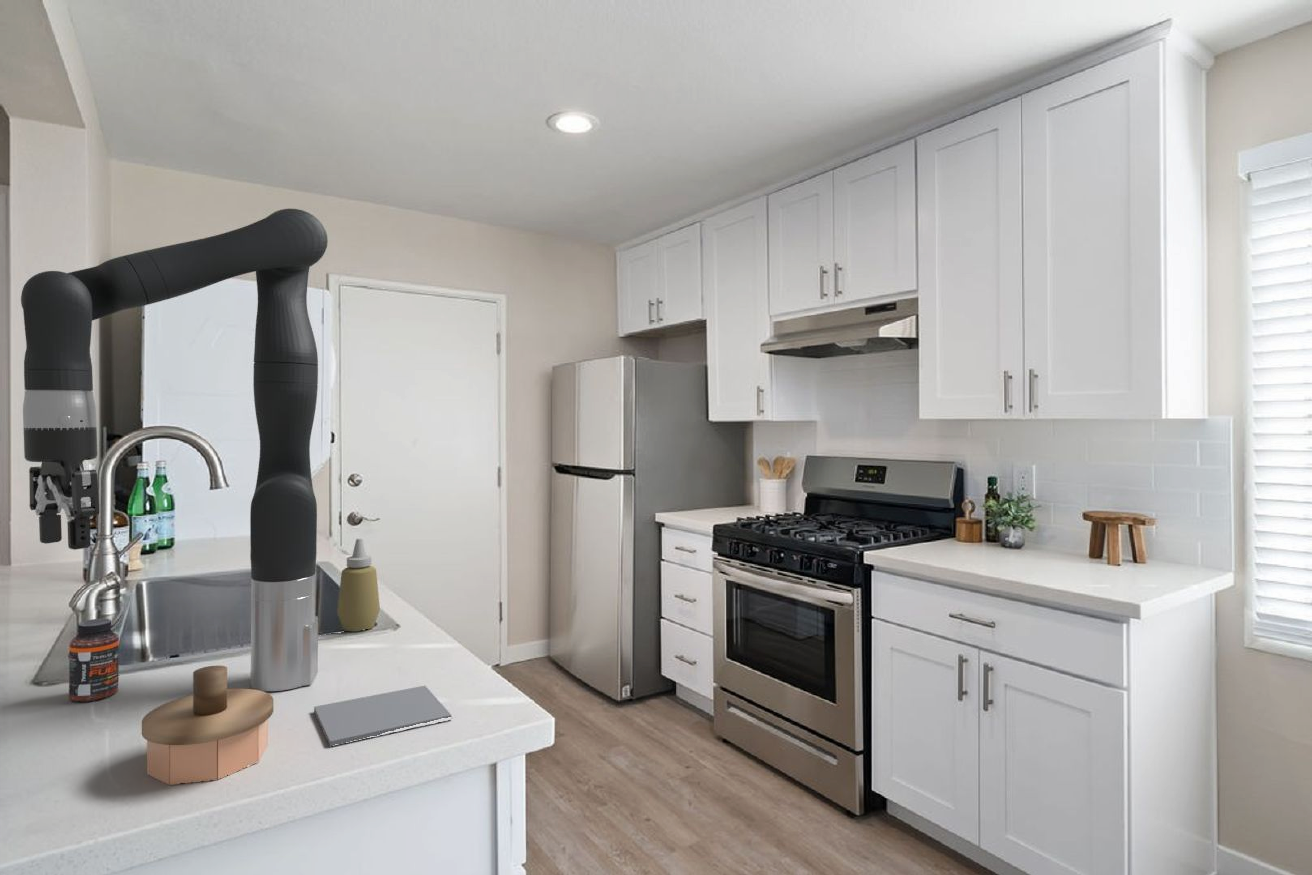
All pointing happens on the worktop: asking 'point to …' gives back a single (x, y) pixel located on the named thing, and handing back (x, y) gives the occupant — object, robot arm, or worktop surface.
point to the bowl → (206, 757)
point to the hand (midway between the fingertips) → (64, 545)
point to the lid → (207, 711)
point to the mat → (378, 714)
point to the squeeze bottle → (358, 592)
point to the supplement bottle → (93, 661)
